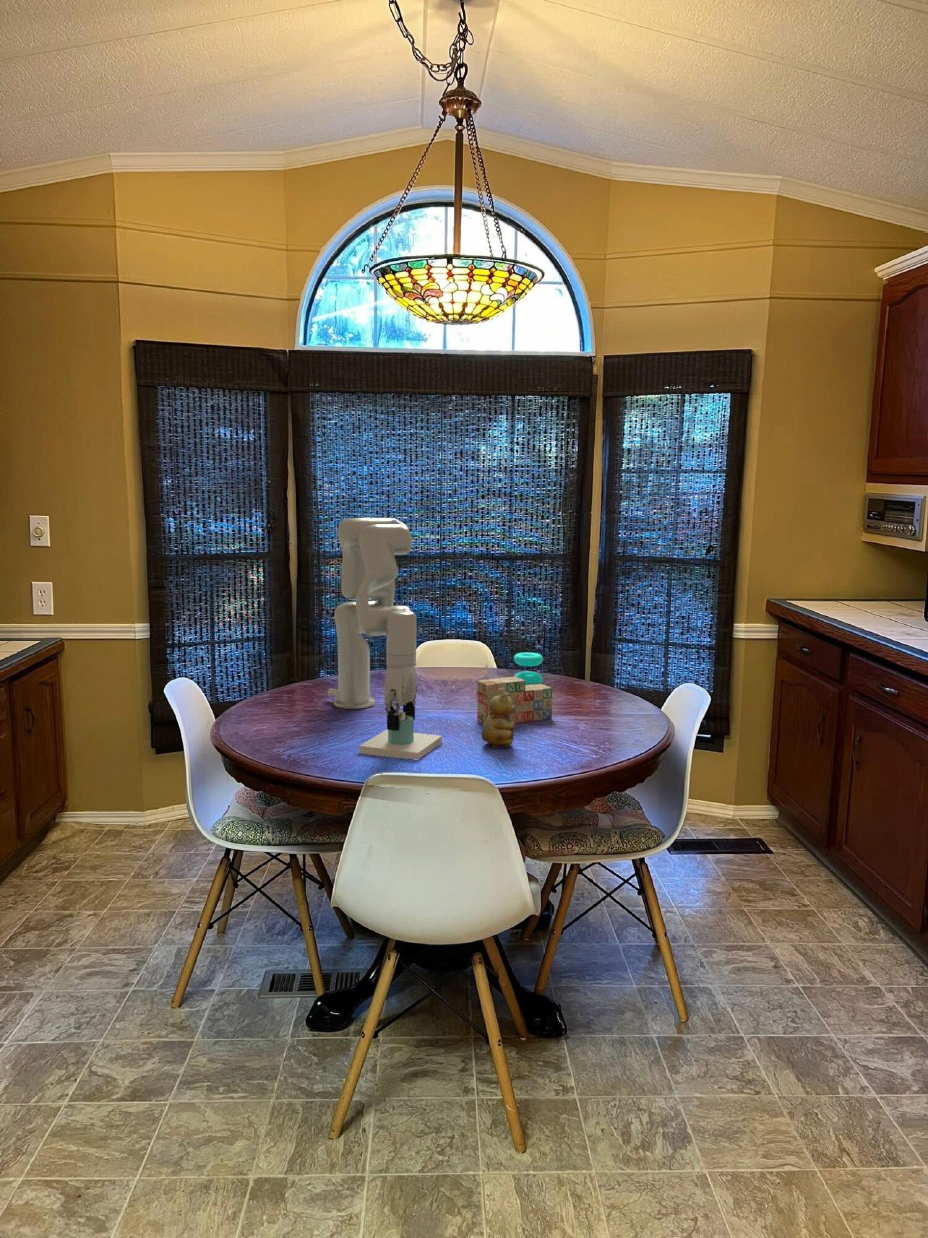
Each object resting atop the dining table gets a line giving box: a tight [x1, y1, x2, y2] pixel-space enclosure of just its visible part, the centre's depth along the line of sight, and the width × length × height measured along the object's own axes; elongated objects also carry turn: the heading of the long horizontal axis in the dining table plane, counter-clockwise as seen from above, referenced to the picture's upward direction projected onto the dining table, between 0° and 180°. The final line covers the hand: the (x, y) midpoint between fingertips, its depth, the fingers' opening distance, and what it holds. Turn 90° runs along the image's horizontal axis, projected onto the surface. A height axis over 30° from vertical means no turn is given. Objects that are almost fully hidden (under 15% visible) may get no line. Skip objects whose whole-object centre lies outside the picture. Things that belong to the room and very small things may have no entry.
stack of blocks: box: [476, 676, 553, 725], centre depth 258 cm, size 21×6×12 cm, turn 115°
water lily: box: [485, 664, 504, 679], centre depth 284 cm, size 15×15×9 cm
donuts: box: [513, 651, 544, 685], centre depth 305 cm, size 10×10×10 cm
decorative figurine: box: [481, 688, 516, 748], centre depth 233 cm, size 10×8×15 cm
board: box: [358, 710, 443, 760], centre depth 229 cm, size 16×16×10 cm
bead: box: [387, 715, 415, 745], centre depth 229 cm, size 6×6×6 cm
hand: (401, 725), depth 229 cm, fingers open, 9 cm apart
